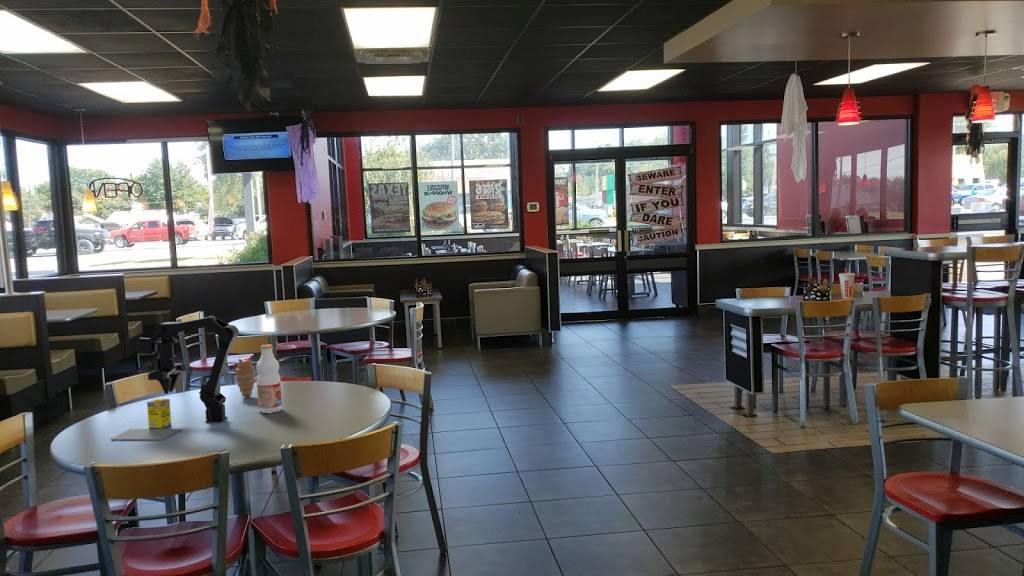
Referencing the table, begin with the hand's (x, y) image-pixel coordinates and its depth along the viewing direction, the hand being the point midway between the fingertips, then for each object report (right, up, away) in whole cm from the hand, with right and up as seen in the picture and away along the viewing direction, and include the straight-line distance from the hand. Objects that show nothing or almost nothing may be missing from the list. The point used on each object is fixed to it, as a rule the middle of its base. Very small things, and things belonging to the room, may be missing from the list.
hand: (168, 392), depth 304 cm
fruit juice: (+36, -10, +15) cm, 40 cm away
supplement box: (0, -13, -7) cm, 15 cm away
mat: (-1, -14, -17) cm, 22 cm away
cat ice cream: (+18, -8, +39) cm, 44 cm away
